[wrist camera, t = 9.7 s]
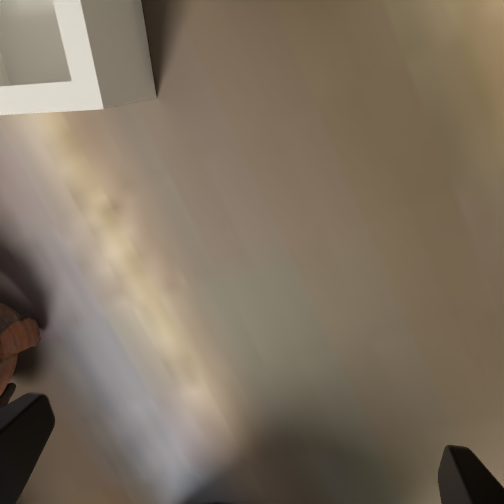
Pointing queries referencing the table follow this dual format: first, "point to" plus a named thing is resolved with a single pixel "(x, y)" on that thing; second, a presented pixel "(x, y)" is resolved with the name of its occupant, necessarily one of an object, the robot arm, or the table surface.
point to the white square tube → (73, 55)
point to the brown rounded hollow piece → (13, 346)
